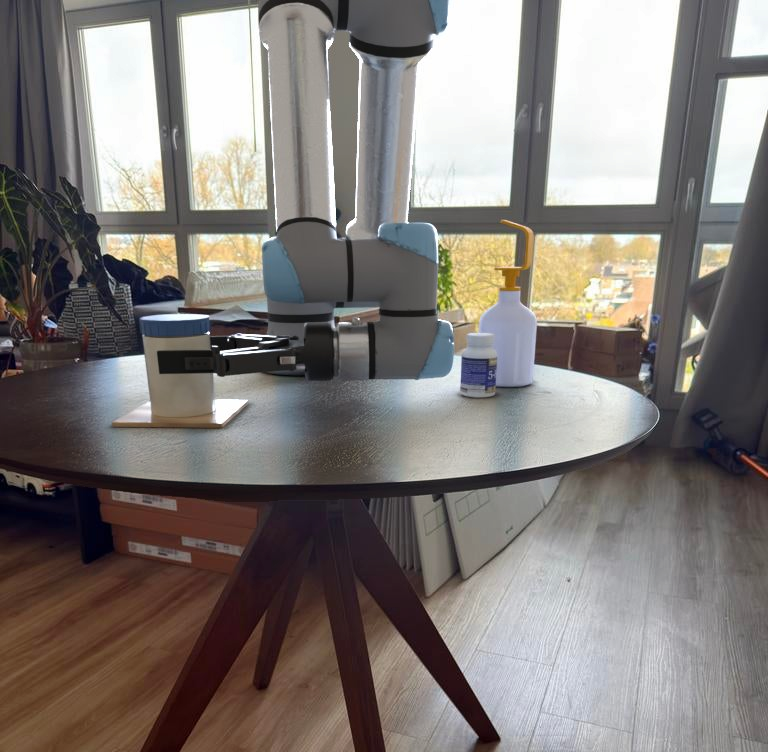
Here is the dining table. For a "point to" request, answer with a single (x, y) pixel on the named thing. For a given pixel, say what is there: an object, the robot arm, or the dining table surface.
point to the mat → (211, 420)
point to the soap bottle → (512, 325)
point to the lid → (174, 325)
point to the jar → (178, 379)
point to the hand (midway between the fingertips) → (169, 354)
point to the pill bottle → (478, 366)
